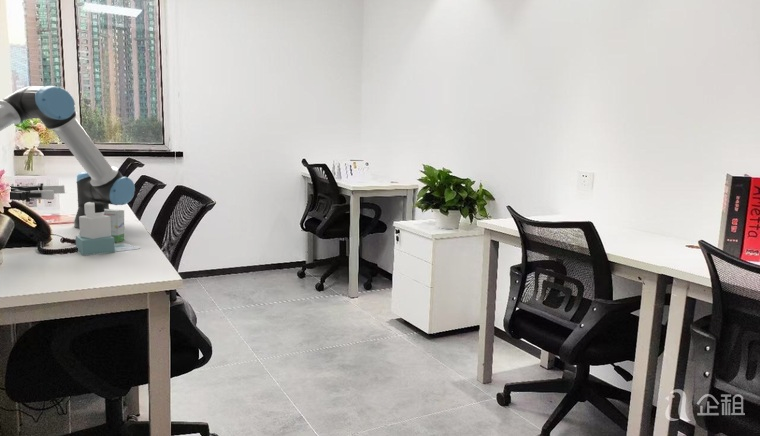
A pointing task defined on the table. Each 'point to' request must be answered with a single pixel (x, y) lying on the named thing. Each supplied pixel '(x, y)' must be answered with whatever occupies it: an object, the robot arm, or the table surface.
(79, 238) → the base brick
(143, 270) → the table surface
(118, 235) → the ink box
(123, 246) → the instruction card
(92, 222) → the grey stepped block
